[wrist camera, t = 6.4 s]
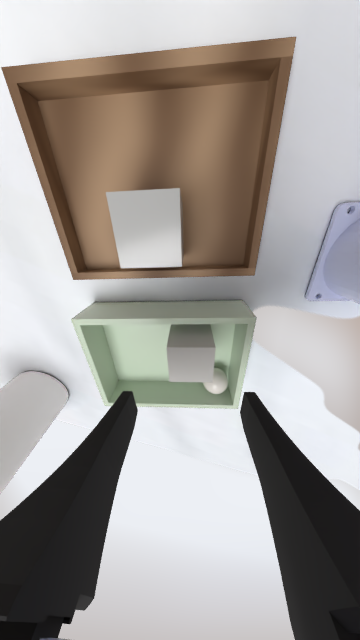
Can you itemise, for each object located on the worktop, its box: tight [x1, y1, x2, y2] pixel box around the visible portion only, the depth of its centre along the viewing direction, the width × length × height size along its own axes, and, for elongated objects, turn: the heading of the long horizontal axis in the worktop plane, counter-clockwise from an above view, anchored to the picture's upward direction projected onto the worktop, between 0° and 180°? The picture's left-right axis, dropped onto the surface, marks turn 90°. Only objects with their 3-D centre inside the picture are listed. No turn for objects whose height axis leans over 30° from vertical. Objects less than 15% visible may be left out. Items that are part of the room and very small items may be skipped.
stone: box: [106, 188, 184, 268], centre depth 12 cm, size 4×4×5 cm
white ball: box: [203, 368, 228, 394], centre depth 20 cm, size 3×3×3 cm
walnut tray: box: [1, 37, 296, 280], centre depth 13 cm, size 16×12×2 cm
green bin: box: [71, 300, 256, 409], centre depth 19 cm, size 16×12×4 cm
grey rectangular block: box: [166, 324, 216, 383], centre depth 17 cm, size 4×4×5 cm
